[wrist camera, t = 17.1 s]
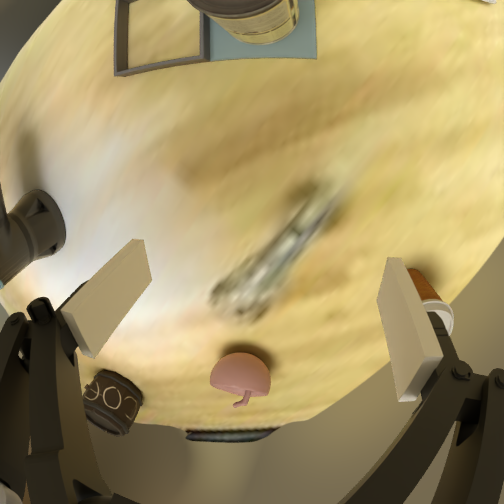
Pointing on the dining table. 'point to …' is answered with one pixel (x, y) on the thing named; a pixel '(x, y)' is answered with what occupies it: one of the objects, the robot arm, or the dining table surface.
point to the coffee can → (252, 18)
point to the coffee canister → (111, 403)
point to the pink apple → (241, 376)
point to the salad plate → (490, 1)
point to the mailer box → (221, 42)
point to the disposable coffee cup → (432, 299)
